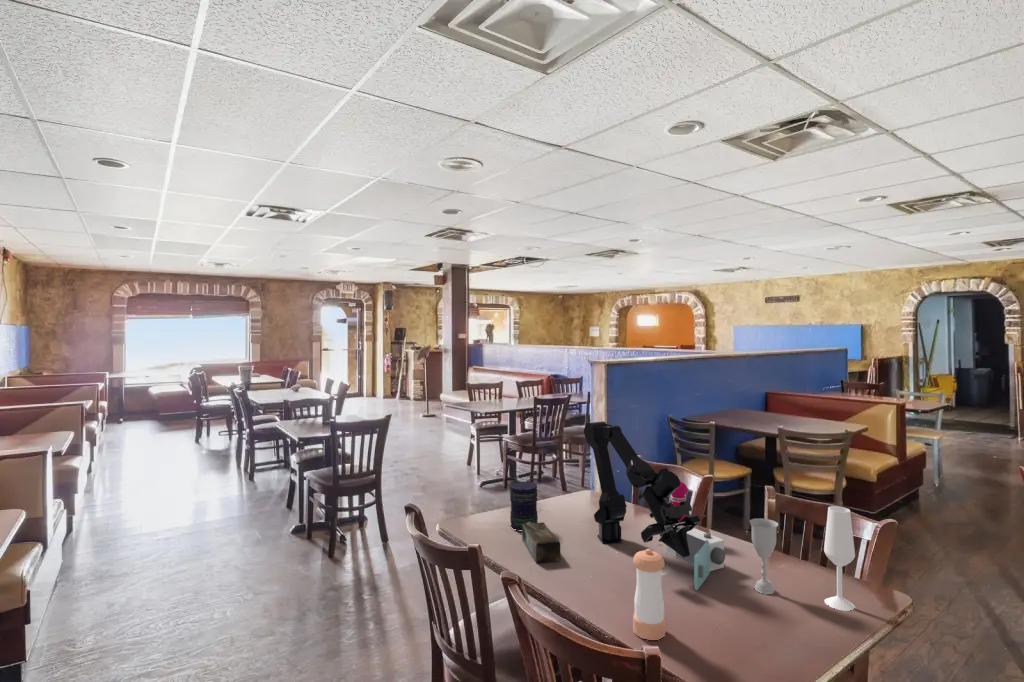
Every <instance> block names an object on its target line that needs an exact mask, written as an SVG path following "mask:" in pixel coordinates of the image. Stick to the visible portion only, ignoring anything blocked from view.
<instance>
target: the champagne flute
mask: <svg viewBox="0 0 1024 682" xmlns="http://www.w3.org/2000/svg"><path fill="white" fill-rule="evenodd" d="M826 518H827V519H826V526H825V536H824V547H823V551H824V554H825V556H826V557H827V558H828V560H829V561H831V563H832V564H833V565H835V566H836V595H835V596H831V597H827V598H825V599H824V604H825V605H827V606H828V605H829V606H828V607H829V608H832V609H834V608H835V610H839V611H844V612H850V610H852V611H854V610H855V609H856V606H855V605H854V603H852V602H851V601H850V600H848V599H846V598H845V597H843V567H845V566H847V565H849V564H850V563H851V562H853V561H854V559H855V557H856V551H855V542H854V541H855V540H854V532H853V531H854V530H853V524H852V523H853V522H852V514H851V510H850V508H847V507H843V506H836V505H835V506H834V505H833V506H828V507H827V517H826ZM854 608H855V609H854ZM853 609H854V610H853Z"/></svg>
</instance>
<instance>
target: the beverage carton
mask: <svg viewBox="0 0 1024 682" xmlns="http://www.w3.org/2000/svg"><path fill="white" fill-rule="evenodd" d="M521 533H522V534H521V535H522V536H521V540H522V542H523V544H524V543H525V544H524V546H525V547H526V549H527V550H528V552H529V554H530V556H531V557H532V559H533V560H534V561H535V564H542V563H556V562H555V561H559V562H560V561H561V542H560V541H559V539H558V538H557V537H556V536H555V535H554V534H553V532H552V531H551V529H550V528H549V527H548V526H547V525H546V524H545V522H537V523H531V522H528V523H527V524H523V525H522V532H521Z"/></svg>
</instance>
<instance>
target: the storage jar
mask: <svg viewBox="0 0 1024 682" xmlns="http://www.w3.org/2000/svg"><path fill="white" fill-rule="evenodd" d="M537 488H538V483H537V484H536V483H535V482H531V481H516V482H512V483H511V484H510V485H509V497H510V498H509V501H510V516H509V519H510V528H511V527H512V528H513V529H516V530H522V525H523V524H527V523H528V522H531V523H538V520H539V518H538V517H539V516H538V511H537V502H538V489H537ZM513 529H512V530H513Z"/></svg>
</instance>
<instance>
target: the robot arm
mask: <svg viewBox="0 0 1024 682" xmlns="http://www.w3.org/2000/svg"><path fill="white" fill-rule="evenodd" d="M583 434H584V436H585V440H586V444H588V445H589V446H590V448H591V449H592V451H593V456H594V462H595V466H596V470H597V471H596V472H597V475H598V480H599V485H600V490H601V494H600V497H599V500H598V506H599V508H598V509H597V511H595V513H594V514H593V518H594V521H595V523H598V535H597V538H598V539H599V540H600V542H601V543H602V544H613V543H615V544H616V543H622V526H621V525H620V523H621V522H624V520H625V516H626V513H627V503H626V497H625V495H624V494H620V492H619V491H618V490H617V485H616V482H615V476H614V472H613V468H612V467H613V466H612V462H611V457H610V452H609V443H610V444H611V446H612V447H613V449H614V450H615V452H616V453H617V455H618V457H619V458H620V460H621V461H622V463H623V464H624V466H625V468H626V473H625V474H626V476H627V478H628V480H629V483H630V484H631V486H632V487H633V488H637V489H640V490H639V492H638V493H639V494H638V496H637V497H638V498H637V499H638V500H639V501H641V500H644V502H645V504H646V506H647V507H648V509H649V511H650V513H649V517H650V519H653V518H654V520H655V522H656V523H652V524H648V525H647V527H645V528H644V529H643V530H642V531H641V533H640V535H641V536H640V537H641V540H642V542H643V543H644V544H645V543H648V542H649V543H650V542H652V541H653V538H654V537H653V536H658V535H659V537H660V538H659V539H658V542H659V543H660V542H661V543H663V544H665V545H667V546H669V547H670V548H672V549H673V550H674V551H676V552H677V553H678V554H679V555H681V556H682V557H683V558H685V557H686V556H687V557H688V556H690V552H689V547H688V543H687V535H686V534H687V532H688V531H691V530H692V529H693V528H695V529H696V527H697V526H698V525H699V524H700V523H702V520H701V519H700V518H699V516H698V515H697V514H694V513H693V514H690V512H692V511H693V507H692V505H691V503H690V502H689V500H687V499H686V501H682V502H680V505H679V506H675V507H674V505H673V504H672V502H668V500H667V498H669V497H671V494H672V493H673V492H674V491H675V490H676V489H677V488H678V487H679V486H680V482H681V481H680V479H681V478H680V477H679V476H678V475H677V474H675V473H674V472H672V471H671V470H669V469H668V468H667V467H662V468H660V469H659V471H658V472H657V471H655V469H654V468H652V466H650V464H649V463H648V462H647V461H645V460H643V459H642V458H641V457H639V455H638V454H637V453H636V451H635V450H634V448H633V446H632V445H631V443H630V442H629V441H628V439H627V438H626V436H625V435H624V433H623V432H622V428H621V426H620V425H617V424H615V425H614V424H611V423H609V424H608V423H607V422H606V421H595V422H587V423H586V424H585V426H584V428H583ZM679 478H680V479H679ZM644 487H645V488H644ZM641 488H644V489H642V490H641ZM685 515H687V516H686V517H684V518H683V519H682V517H683V516H685ZM681 519H682V520H681ZM679 520H681V521H680V522H678V521H679ZM674 526H675V527H674Z"/></svg>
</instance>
